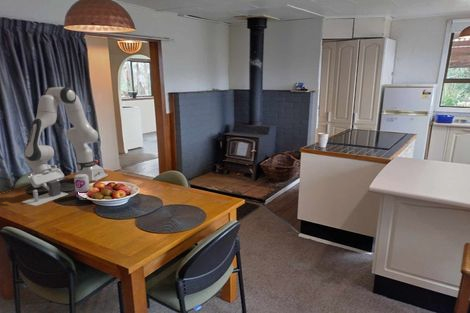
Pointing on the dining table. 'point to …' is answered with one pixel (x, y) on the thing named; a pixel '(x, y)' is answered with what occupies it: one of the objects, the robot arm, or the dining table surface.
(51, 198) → the post board
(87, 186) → the supplement can
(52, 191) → the dark grey block
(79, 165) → the robot arm
